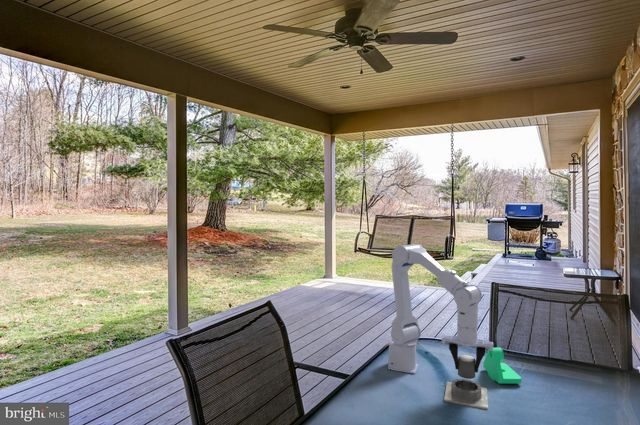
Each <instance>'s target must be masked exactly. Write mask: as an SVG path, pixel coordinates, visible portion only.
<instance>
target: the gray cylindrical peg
mask: <svg viewBox="0 0 640 425" xmlns="http://www.w3.org/2000/svg"><path fill="white" fill-rule="evenodd" d="M475 367H476V357H474V356H472V355H469V354H461V355H459V356H458V369H457V375H458V376H459V377H460V378H461V379H466V380H471V379H472V380H473V379H475V378H476V372H475Z"/></svg>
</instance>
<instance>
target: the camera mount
mask: <svg viewBox="0 0 640 425" xmlns="http://www.w3.org/2000/svg"><path fill="white" fill-rule="evenodd" d="M486 352H487V353H486V354H485V357H484V360H483V362H482V363H483V365H482V366H483V368H484V370H485V371H486V372H487V375H488V377H489V378H491V380H492V381H494V382H497V384H522V376H520V375H519V374H518V373H517V372H516V371H515V370H514V369H513V368H511V367H510V366H509V365H508V364H507V363H504V362H503V361H504V358H505V357H504V356H505V355H504V350H503V349H502V348H501V347H493V351H491V350H489V349H487V351H486Z"/></svg>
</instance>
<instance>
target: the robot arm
mask: <svg viewBox="0 0 640 425" xmlns="http://www.w3.org/2000/svg"><path fill="white" fill-rule="evenodd" d="M391 256H392V257H391V258H392V262H391V273H392V283H393V292H394V302H395V311H396V315H395V317H394V319H393V320H392V322H391V330H390V337H391V339H392V340H391V341H389V346H388V367H387V369H388V370H390V369H391V371H397V372H402V373H409V374H413V375H415V374H417V370H418V367H419V363H417V343H418V340H419V339H420V338H421V335H422V330H421V328H420V326H419V325H420V324H419V322H418V319H417V317H415V316H414V315H413V309H412V300H411V290H410V280H409V270H410V269H411V268H412V266H413V265H416V264H417V265H420V266H421V267H424V268H425V269H426V270H427V271H429V273H431V274H433V275H434V276H435V277H436V278H437V281H438V284H439V285H440V286H441V287H442V288H443V289H445V290H446V291H448V293H449V294H451V295H452V296H453V300H454V302H455V304H456V310H457V318H456V320H457V325H456V327H457V329H456V330H457V331H456V335H441V336H442V337H441V344H442V345H446V344H448V349H449V351H450V354H451V355H452V356H451V357H452V358H453V362H454V367H455V370H458V357H459V356H458V354H459V346H461V347H468V348H474V349H475V348H476V353H475V356H476V357H475V360H476V367H475V373H477V374H478V373H479V368H480V364H481V362H482V360H483V358H485V357H484V356H486V350H488V349H489V350H491V351H493V348H494V342H493V341H489V340H484V339H480V338H478V322H479V321H478V320H479V318H478V314H479V313H478V312H479V305H478V304H479V303H480V302H481V301H482V298H483V295H482V291H481V289H480V288H479V287H478V286H477V285H476V284H470V283H469V282H468V281H466V280H464V279H463V278H461V277H460V276H459V275H458V274H457V271H456V270H452V269H445V268H444V267H443V266H441V264H439V262H438V261H436V260H435V259H434V258H433V257H432V256H431V255H430V254H429V253H428V251H427V249H426V248H424V247H423V246H422V245H421V244H420V243H413V244H406V245H405V244H404V245H402V244H401V245H397V246H396V247H395V248H393V250H392V251H391Z"/></svg>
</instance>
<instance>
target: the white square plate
mask: <svg viewBox="0 0 640 425" xmlns="http://www.w3.org/2000/svg"><path fill="white" fill-rule="evenodd" d="M488 400H489V399H488V388H487V387H482V386H481V385H480V383H478V382H475V381H474V380H471V379H466V378H458V379H454V380H452V381H446V384H445V393H444V398H443V401H444V402H447V403H451V404H457V405H462V406H467V407H472V408H477V409H478V408H479V409H481V410H482V409H483V410H489V401H488Z"/></svg>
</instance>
